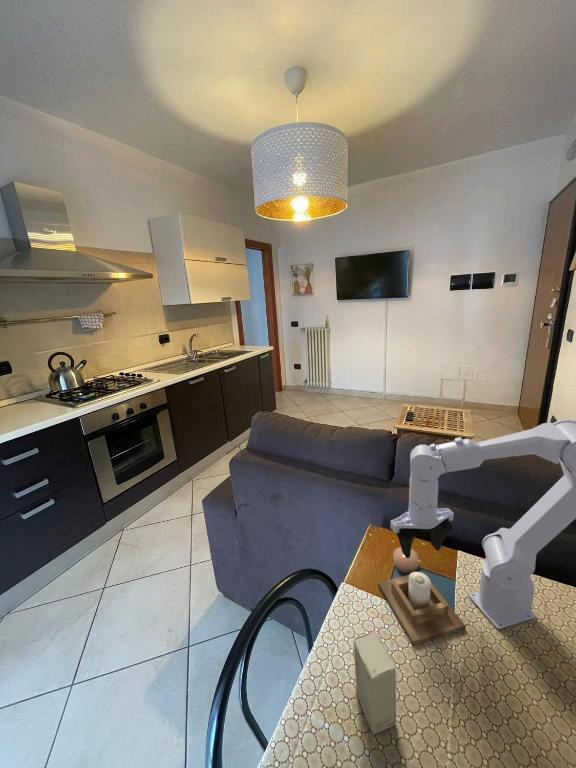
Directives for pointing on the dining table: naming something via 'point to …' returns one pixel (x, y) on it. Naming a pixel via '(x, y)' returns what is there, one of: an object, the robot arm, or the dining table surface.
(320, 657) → the dining table surface
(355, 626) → the dining table surface
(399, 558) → the tan oval ball
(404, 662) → the dining table surface
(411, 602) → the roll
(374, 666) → the skincare box
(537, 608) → the dining table surface
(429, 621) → the caddy
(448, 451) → the robot arm
